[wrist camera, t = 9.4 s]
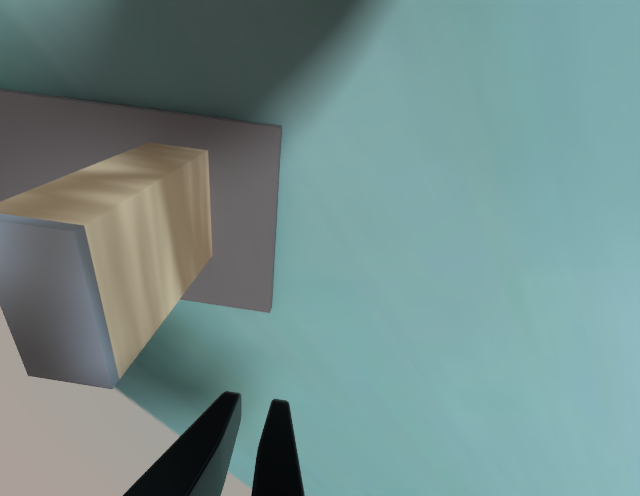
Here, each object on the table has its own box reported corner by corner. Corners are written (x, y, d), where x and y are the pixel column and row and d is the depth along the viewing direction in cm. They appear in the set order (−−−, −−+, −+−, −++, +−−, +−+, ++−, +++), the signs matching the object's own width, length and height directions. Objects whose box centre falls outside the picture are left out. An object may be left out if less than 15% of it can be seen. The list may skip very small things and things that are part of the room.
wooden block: (208, 150, 18) (73, 231, 9) (212, 255, 21) (112, 389, 12) (148, 142, 18) (-36, 215, 10) (161, 248, 21) (28, 375, 12)
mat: (281, 125, 17) (279, 127, 17) (271, 306, 23) (269, 312, 22) (-34, 84, 18) (-46, 85, 17) (27, 270, 23) (20, 275, 23)
